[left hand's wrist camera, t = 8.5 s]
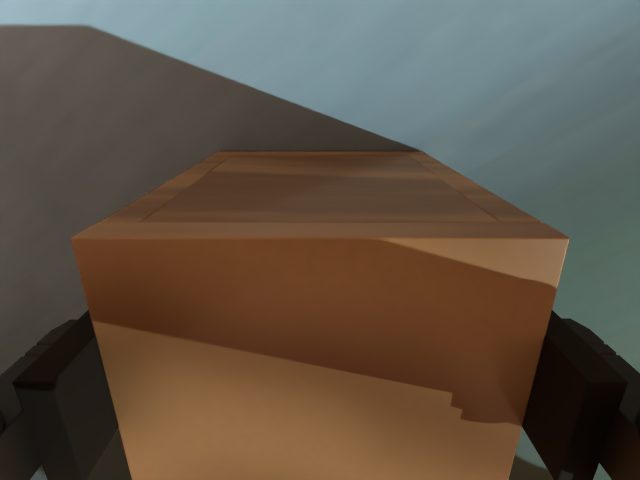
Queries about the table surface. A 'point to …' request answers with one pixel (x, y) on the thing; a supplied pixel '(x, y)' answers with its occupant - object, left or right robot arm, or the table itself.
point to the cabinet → (320, 319)
